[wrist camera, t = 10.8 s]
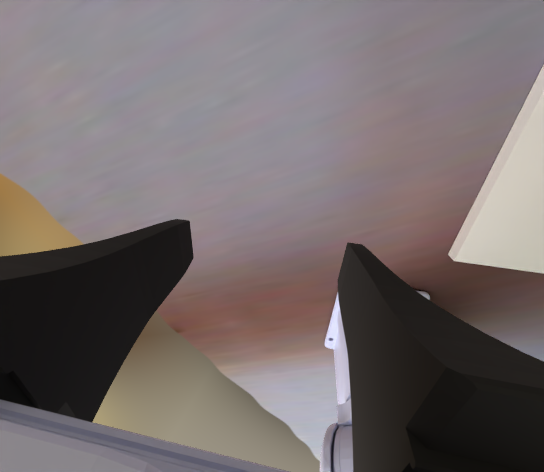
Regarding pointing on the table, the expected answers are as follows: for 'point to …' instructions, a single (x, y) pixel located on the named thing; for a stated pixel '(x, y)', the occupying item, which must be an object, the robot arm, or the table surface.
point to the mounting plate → (511, 198)
